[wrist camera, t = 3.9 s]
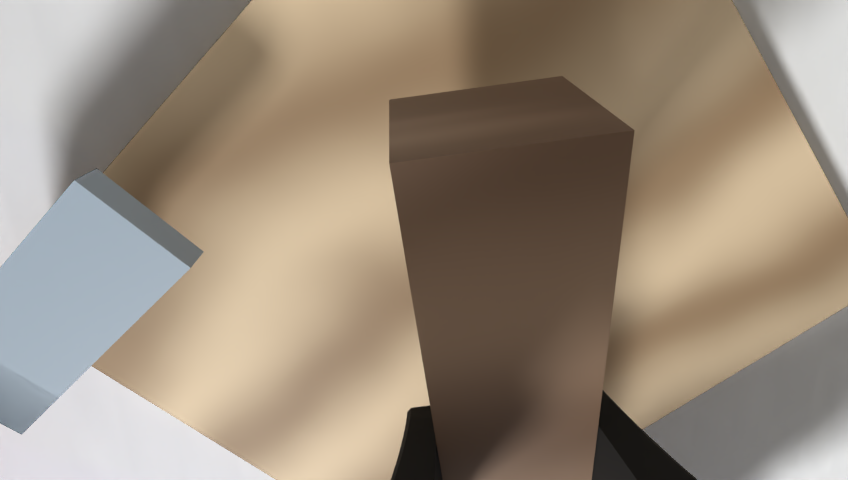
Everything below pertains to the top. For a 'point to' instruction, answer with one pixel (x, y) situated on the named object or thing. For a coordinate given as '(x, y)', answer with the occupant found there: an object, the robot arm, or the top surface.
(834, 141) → the top surface
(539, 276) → the link
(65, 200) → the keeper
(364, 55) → the board
